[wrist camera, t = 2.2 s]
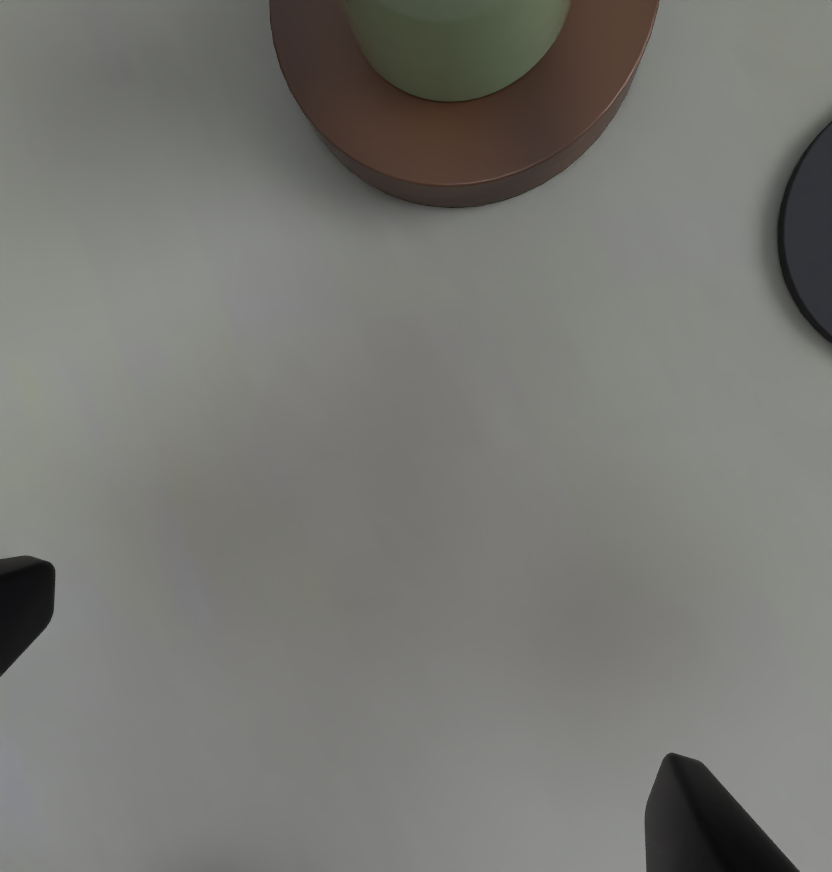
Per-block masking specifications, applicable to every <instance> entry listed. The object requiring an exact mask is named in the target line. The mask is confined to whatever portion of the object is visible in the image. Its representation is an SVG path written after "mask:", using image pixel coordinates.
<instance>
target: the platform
mask: <svg viewBox="0 0 832 872" xmlns="http://www.w3.org/2000/svg"><path fill="white" fill-rule="evenodd" d="M269 2H270V23H271V30H272V36H273V43H274V47H275V51H276V54H277V58H278V61H279V65H280V68H281V71H282V73H283V75H284V78H285V80H286V82H287V85H288V87H289V90H290V92H291V93H292V95H293V97H294V98H295V100H296V102H297V103H298V105H299V107H300V108H301V110H302V112H303V113H304V115H305V116H306V118H307V119H308V120H309V122H310V123H311V125H312V126H313V128H314V129H315V131H316V132H317V133H318V135H319V136H320V138H321V139H322V140H323V142H324V143H325V144H326V145H327V147H328V148H329V149H330V150H331V152H332V153H333V154H334V155H335V156H336V157H337V158H338V159H339V160H340V161H341V162H342V163H343V164H344V165H345V166H346V167H347V168H348V169H349V170H350V171H352V172H353V173H355V174H356V175H357V176H359V177H360V178H361V179H363V180H364V181H366V182H367V183H369V184H371V185H372V186H374V187H376V188H378V189H380V190H382V191H384V192H386V193H388V194H390V195H393V196H396V197H399V198H401V199H404V200H407V201H411V202H415V203H420V204H425V205H429V206H441V207H467V206H478V205H483V204H488V203H494V202H498V201H502V200H505V199H508V198H511V197H514V196H517V195H520V194H522V193H524V192H526V191H528V190H531V189H533V188H535V187H537V186H539V185H541V184H543V183H545V182H546V181H548V180H549V179H551V178H552V177H554V176H555V175H557V174H559V173H560V172H562V171H563V170H564V169H566V168H567V167H568V166H569V165H570V164H572V163H573V162H574V161H575V160H576V159H578V158H579V157H580V156H581V155H582V154H583V153H584V152H585V151H586V150H587V149H588V148H589V147H590V146H591V145H592V144H593V143H594V142H595V141H596V140H597V139H598V137H599V136H600V135H601V134H602V132H603V131H604V130H605V128H606V127H607V125H608V124H609V123H610V121H611V120H612V119H613V117H614V116H615V114H616V112H617V111H618V109H619V107H620V105H621V103H622V102H623V100H624V98H625V96H626V95H627V92H628V90H629V88H630V85H631V83H632V80H633V78H634V75H635V73H636V70H637V68H638V65H639V63H640V60H641V58H642V56H643V53H644V51H645V48H646V46H647V43H648V41H649V38H650V36H651V33H652V29H653V25H654V21H655V18H656V14H657V10H658V6H659V0H572V1H571V5H570V8H569V12H568V14H567V17H566V19H565V22H564V24H563V26H562V28H561V30H560V32H559V34H558V36H557V38H556V39H555V41H554V42H553V44H552V45H551V47H550V48H549V49H548V51H547V52H546V54H545V55H544V56H543V57H542V58H541V59H540V60H539V61H538V62H537V64H536V65H535V66H534V67H532V68H531V69H530V70H529V71H528V72H527V73H526V74H524V75H523V76H522V77H520V78H519V79H517V80H516V81H514V82H513V83H512V84H510V85H508V86H506V87H504V88H502V89H501V90H499V91H497V92H494V93H492V94H489V95H486V96H483V97H480V98H476V99H471V100H466V101H455V102H446V101H434V100H429V99H424V98H420V97H417V96H414V95H411V94H408V93H406V92H404V91H403V90H401V89H399V88H397V87H395V86H393V85H392V84H391V83H389V82H388V81H386V80H385V79H384V78H383V77H381V76H380V75H379V74H378V73H377V72H376V71H375V70H374V69H373V68H372V67H371V65H370V64H369V63H368V62H367V60H366V59H365V58H364V56H363V55H362V53H361V51H360V50H359V48H358V46H357V44H356V42H355V40H354V37H353V35H352V33H351V30H350V28H349V25H348V23H347V20H346V18H345V16H344V13H343V11H342V8H341V6H340V3H339V1H338V0H269Z"/></svg>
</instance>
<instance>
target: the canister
mask: <svg viewBox="0 0 832 872" xmlns="http://www.w3.org/2000/svg"><path fill="white" fill-rule="evenodd" d="M338 1H339V3H340V6H341V8H342V11H343V13H344V16H345V18H346V20H347V23H348V25H349V28H350V30H351V33H352V35H353V37H354V40H355V42H356V44H357V46H358V48H359V50H360V51H361V53H362V55H363V56H364V58H365V59H366V60H367V62H368V63H369V64H370V65H371V67H372V68H373V69H374V70H375V71H376V72H377V73H378V74H379V75H380V76H381V77H383V78H384V79H385V80H386V81H388V82H389V83H391V84H392V85H393V86H395V87H397V88H399V89H401V90H403V91H404V92H406V93H408V94H411V95H414V96H417V97H420V98H424V99H429V100H434V101H446V102H455V101H466V100H471V99H476V98H480V97H483V96H486V95H489V94H492V93H494V92H497V91H499V90H501V89H502V88H504V87H506V86H508V85H510V84H512V83H513V82H514V81H516V80H517V79H519V78H520V77H522V76H523V75H524V74H526V73H527V72H528V71H529V70H530V69H531V68H532V67H534V66H535V65H536V64H537V62H538V61H539V60H540V59H541V58H542V57H543V56H544V55H545V54H546V52H547V51H548V49H549V48H550V47H551V45H552V44H553V42H554V41H555V39H556V38H557V36H558V34H559V32H560V30H561V28H562V26H563V24H564V22H565V19H566V17H567V14H568V12H569V8H570V5H571V1H572V0H338Z"/></svg>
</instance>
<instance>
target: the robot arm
mask: <svg viewBox="0 0 832 872" xmlns="http://www.w3.org/2000/svg"><path fill="white" fill-rule="evenodd" d="M54 594H55V568H54V566H53V565H52V564H51V563H50V562H48V561H45V560H41V559H38V558H35V557H31V556H18V557H12V558H5V559H0V677H1V676H2V674H3V673H4V672H5V671H6V670H7V669H8V668H9V667H10V666H11V665H12V664H13V663H14V662H15V660H16V659H17V658H18V657H19V656H20V655H21V654H22V653H23V652H24V651H25V650H26V649H27V648H28V647H29V645H30V644H31V643H32V642H33V641H34V640H35V639H36V638H37V637H38V636H39V635H40V634H41V633H42V632H43V630H44V629H45V628H46V627H47V625H48V624H49V622H50V620H51V618H52V615H53V611H54ZM645 845H646V871H647V872H800V871H799V870H798V869H797V868H796V867H795V866H794V865H793V863H792V862H791V861H790V860H789V859H788V858H787V857H786V856H785V855H784V853H783V852H782V851H781V850H780V849H779V848H778V847H777V846H776V844H775V843H774V842H773V841H772V840H771V839H770V838H769V837H768V836H767V834H766V833H765V832H764V831H763V830H762V829H761V828H760V827H759V825H758V824H757V823H756V822H755V821H754V820H753V819H752V818H751V816H750V815H749V814H748V813H747V812H746V811H745V810H744V809H743V808H742V806H741V805H740V804H739V803H738V802H737V801H736V800H735V799H734V797H733V796H732V795H731V794H730V793H729V792H728V791H727V790H726V789H725V787H724V786H723V785H722V784H721V783H720V782H719V781H718V780H717V778H716V777H715V776H714V775H713V774H712V773H711V772H710V771H709V770H708V768H707V767H706V766H705V765H704V764H703V763H702V762H700V761H698V760H695V759H692V758H689V757H685V756H682V755H679V754H675V753H669V754H667V755H666V756H665V757H664V759H663V761H662V763H661V766H660V768H659V771H658V774H657V777H656V779H655V782H654V785H653V787H652V790H651V793H650V795H649V798H648V801H647V805H646V810H645Z"/></svg>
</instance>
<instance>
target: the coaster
mask: <svg viewBox="0 0 832 872" xmlns="http://www.w3.org/2000/svg"><path fill="white" fill-rule="evenodd" d="M778 245H779V254H780V262H781V266H782V269H783V273H784V277H785V280H786V283H787V285H788V287H789V290H790V292H791V294H792V297H793V298H794V300H795V302H796V303H797V305H798V307H799V308H800V310H801V311H802V313H803V314H804V315H805V317H806V318H807V319H808V320H809V322H810V323H811V324H812V325H813V326H814V328H816V329H817V330H818V331H819V332H820V333H821V334H822V335H823V336H824V337H825V338H826V339H827V340H829V341H830V342H831V343H832V122H831V123H830V124H829V125H828V126H827V127H826V128H825V129H824V130H823V131H822V132H821V133H820V134H819V135H818V136H817V137H816V138H815V140H814V141H813V142H812V143H811V145H810V146H809V147H808V149H807V150H806V151H805V153H804V154H803V156H802V158H801V159H800V161H799V163H798V164H797V166H796V168H795V170H794V172H793V174H792V176H791V179H790V181H789V183H788V185H787V188H786V192H785V195H784V198H783V202H782V205H781V212H780V218H779V228H778Z"/></svg>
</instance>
